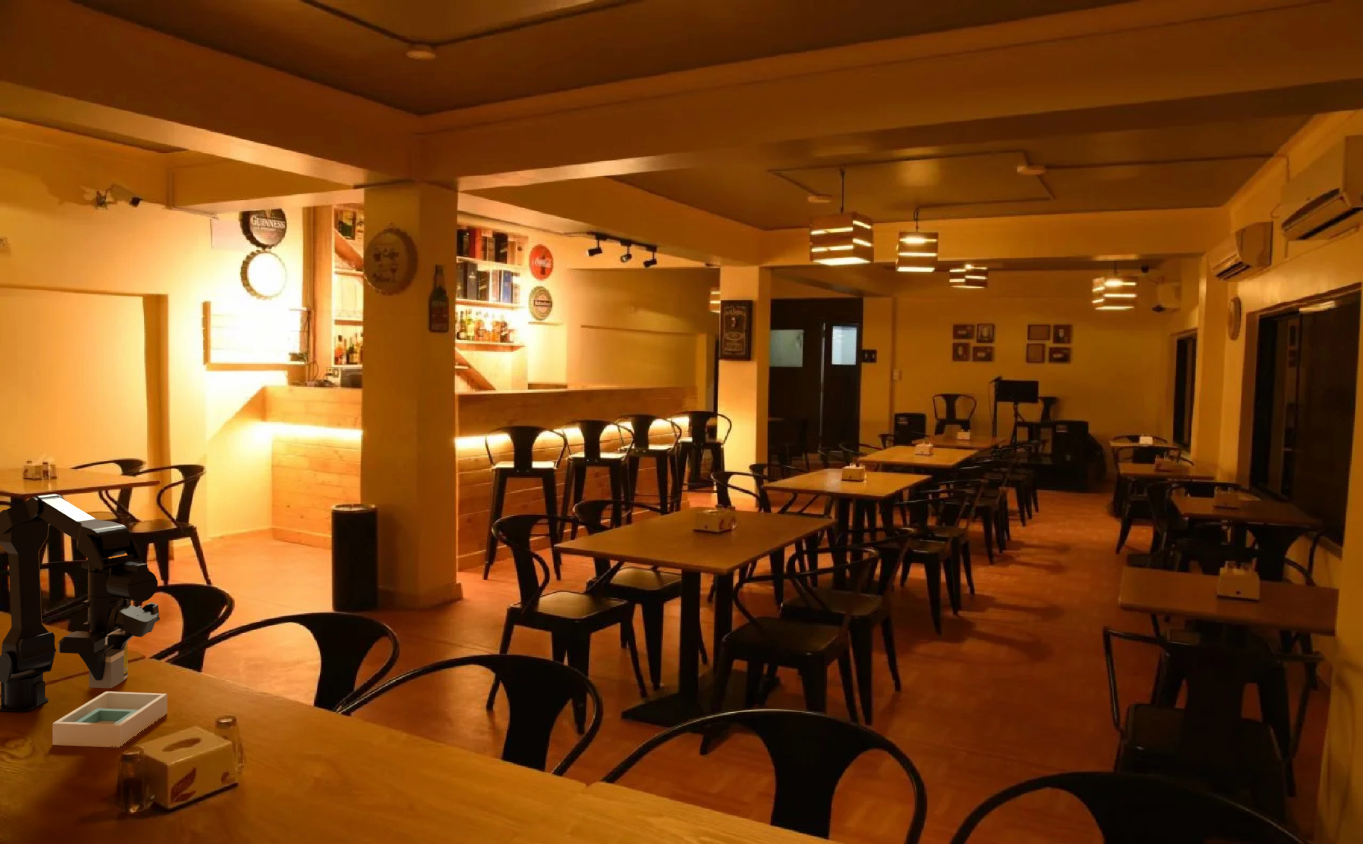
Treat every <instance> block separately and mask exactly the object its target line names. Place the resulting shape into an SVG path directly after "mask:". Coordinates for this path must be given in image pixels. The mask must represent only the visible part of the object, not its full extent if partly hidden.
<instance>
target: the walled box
mask: <svg viewBox="0 0 1363 844" xmlns="http://www.w3.org/2000/svg"><path fill="white" fill-rule="evenodd" d="M165 714H166V715H168V693H159V692H158V693H156V692H155V693H154V692H133V691H131V692H130V691H104V692H103V693H101V694H99V695H97V696H95V697H94V698H92V699H91V700H89V701H87V702H86V703H84V704H82V705H81V706H79V707H77V708H76V709H74V710H73V711H70V712H69V713H68V714H65V715H64V716H62V717H61V718H59V719H57V720H56V721H54V722H52V745H53V746H68V747H69V746H70V747H71V746H72V747H73V746H74V747H98V748H99V747H101V748H121V747H123V746H124V745H125V744H127V743H128V742H129V741H130V740H129V739H131V738H132V737H133V736H135V737H137V736H138V735H139V734H140V733H139V732H141V731H142V730H143V731H145V730H146V729H147V727H148V726H149V725H150V726H152V725H153V724H155V723H156V722H158V721H159V720H160V719H162V718H163V717H164V716H166V715H165ZM161 717H162V718H161ZM159 718H160V719H159ZM158 719H159V720H158ZM155 721H156V722H155ZM154 722H155V723H154ZM151 724H152V725H151ZM150 726H149V727H150ZM149 727H148V728H149ZM145 728H146V729H145ZM144 729H145V730H144ZM143 731H142V732H143ZM142 732H141V733H142ZM138 733H139V734H138ZM137 734H138V735H137ZM132 739H133V738H132ZM132 739H131V740H132ZM128 740H129V741H128ZM127 741H128V742H127ZM126 742H127V743H126ZM124 743H125V744H124ZM123 744H124V745H123ZM111 746H113V747H111ZM115 746H116V747H115ZM120 746H121V747H120Z"/></svg>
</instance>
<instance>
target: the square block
mask: <svg viewBox="0 0 1363 844" xmlns="http://www.w3.org/2000/svg"><path fill="white" fill-rule="evenodd" d="M122 682H124V650H122V649H110V650H109V651H108V652H107V653H106V659H105V667H104V674H103V679H102V680H100V681H99V680H95V678H94V677H93V675H92V673H91V672H90V670H89V669H88V688H94V689H95V688H96V689H98V688H99V689H112V688H114V687H116V686H117V685H119V684H120V683H122Z"/></svg>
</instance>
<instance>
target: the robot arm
mask: <svg viewBox="0 0 1363 844" xmlns="http://www.w3.org/2000/svg"><path fill="white" fill-rule="evenodd" d="M50 526H53V527H55V528H56V529H57V530H58V531H61V532H62V533H64V534H65V535H66V536H68V537H70V538H72V539H73V540H75V541H76V549H77V550H78V551H79V552H80V553H81V554H82V555H83V556H84V557H85V558H87V559H86V560H85V561H84V562H82V563H81V568H82V569H83V568H84V569H87V570H88V573H87V579H88V580H87V584H88V585H87V592H88V593H87V599H86V600H84V601H82V608H87V621H86V622H83V623H82V631H80V630H79V631H78V630H76V631H73V632H71V633H68V634H67V635H65V636H63V637H62V638H61V639H60V640H58V653H60V654H74V655H75V654H77V655H79V657H80V658H81V659H82V660H83V663H84V664H85V665H86V667H87V669H88V671H89V670H90V672H91V673H92V675H93V677H94V678H95V680H99V681H100V680H102V679H103V674H104V667H105V659H106V653H107V652H108V651H109V650H110V649H122V650H124V648H125V646H126V643H128V642H129V641H130V640H131V639H132V638H133V637H135V638H142V637H144V636H145V635H146V634H148V633H151V632H153V630H154V626H155V625H156V623H158V622H159V621H160V620H161V617H160V611H159V605H158V603H154V602H149V603H147V604H146V605H144V606H143V607H142V606H141V605H138V606H134V605H132V602H137V603H143V602H147V601H148V600H150V599H151V598H152V597H153V596H154V595H155V593H156V592H157V589H158V585H159V582H158V581H159V580H158V579H157V576H156V575H155V573H153V571H150V570H148V564H147V563H144V562H143V557H142V555H141V553H142V551H141V550H140V549H139V547H138V545H137V544H136V542H135V539H134V537H133V535H132V534H131V532H130V530H129V528H128V527H127V526H125V525H124V524H121V523H119V522H118V523H117V522H115V521H109V520H100V519H97V518H95V517H93V516H92V515H90V514H88V513H86V512H85V511H83V510H82V509H80V508H78V507H77V506H75V505H73V504H72V503H70V502H69V501H67V500H65V499H64V497H63V496H62V495H61V494H57V493H49V494H39V495H33V496H32V497H29V498H28V499H27V500H25V501H24V502H21V503H19V504H17V505H13V506H11V507H9V508H6V509H3V510H1V511H0V546H1V547H2V548H3V550H5V552H7V555H8V556H7V557H8V574H9V575H8V577H9V598H10V599H9V602H10V619H11V620H10V622H11V624H10V629H9V630H8V632H7V634H5V637H4V639H3V640H2V643H1V654H0V712H19V713H20V712H21V713H23V712H24V713H28V712H29V711H32V710H34V709H35V708H38V707H40V706H41V705H43V704H44V703H46V702H47V701H49V697H46V681H45V680H44V673H49V672H51V671H52V668H53V665H54V660H55V656H56V652H57V649H56V635H55V633H54V632H52V631H49V630H48V629H47V628H46V627H45V626H44V624H43V618H42V617H43V616H42V615H43V614H42V612H43V611H42V595H41V594H42V593H41V592H42V589H41V570H40V566H41V565H40V551H41V549H42V548H43V545H44V544H45V542H46V540H47V539H48V538H49V529H50ZM83 630H88V631H83Z"/></svg>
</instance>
